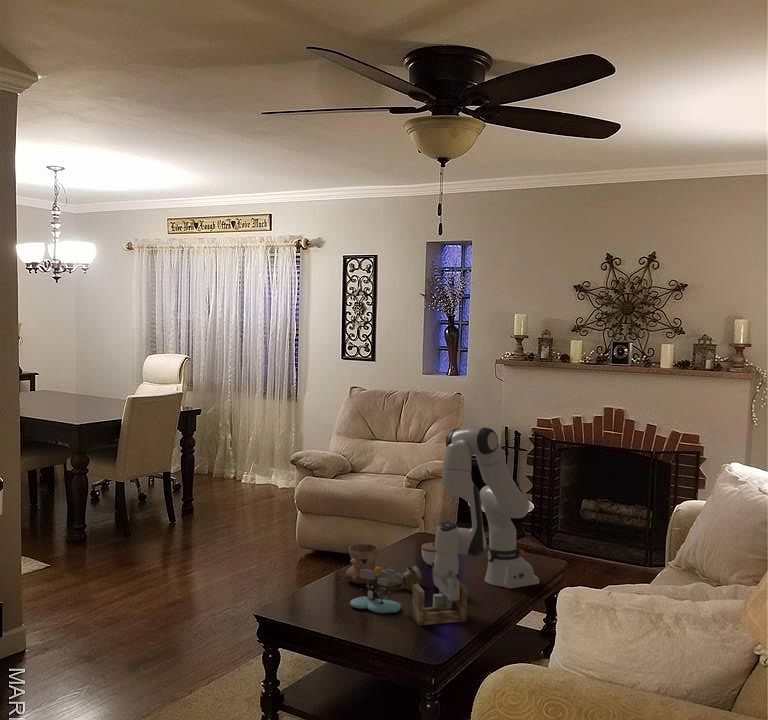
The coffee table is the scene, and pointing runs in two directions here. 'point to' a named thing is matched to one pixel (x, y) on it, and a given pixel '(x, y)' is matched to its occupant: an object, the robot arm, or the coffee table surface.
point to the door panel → (440, 600)
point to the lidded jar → (428, 552)
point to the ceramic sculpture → (409, 578)
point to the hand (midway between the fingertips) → (445, 604)
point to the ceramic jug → (361, 561)
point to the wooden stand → (438, 608)
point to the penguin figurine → (370, 601)
